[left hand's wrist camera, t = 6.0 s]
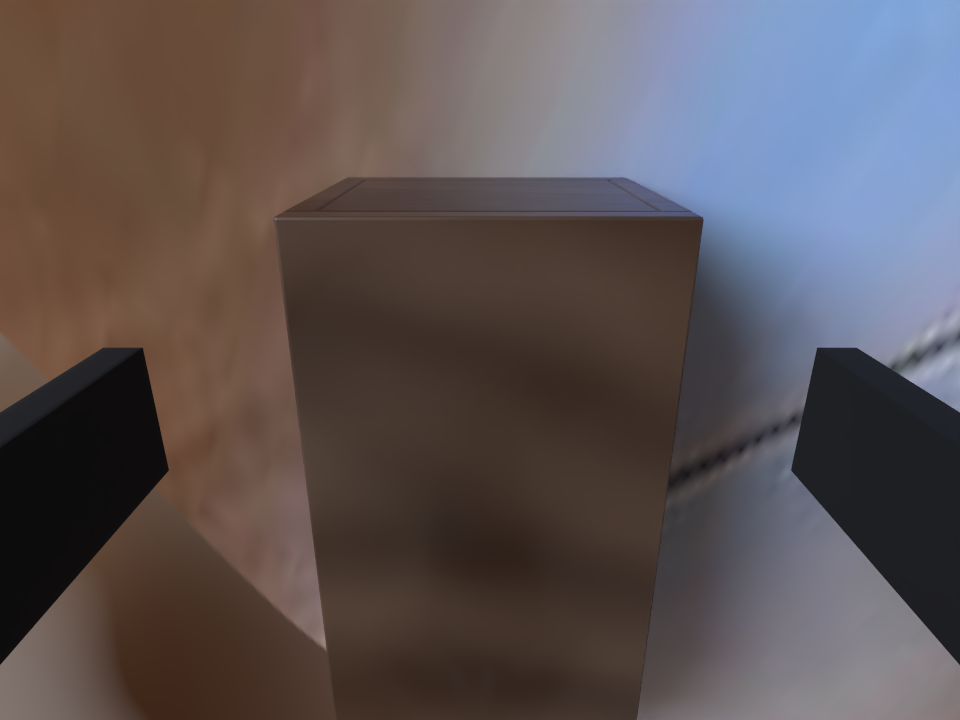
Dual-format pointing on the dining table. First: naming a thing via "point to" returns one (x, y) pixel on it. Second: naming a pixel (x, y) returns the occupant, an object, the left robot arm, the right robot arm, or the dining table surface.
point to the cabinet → (487, 435)
